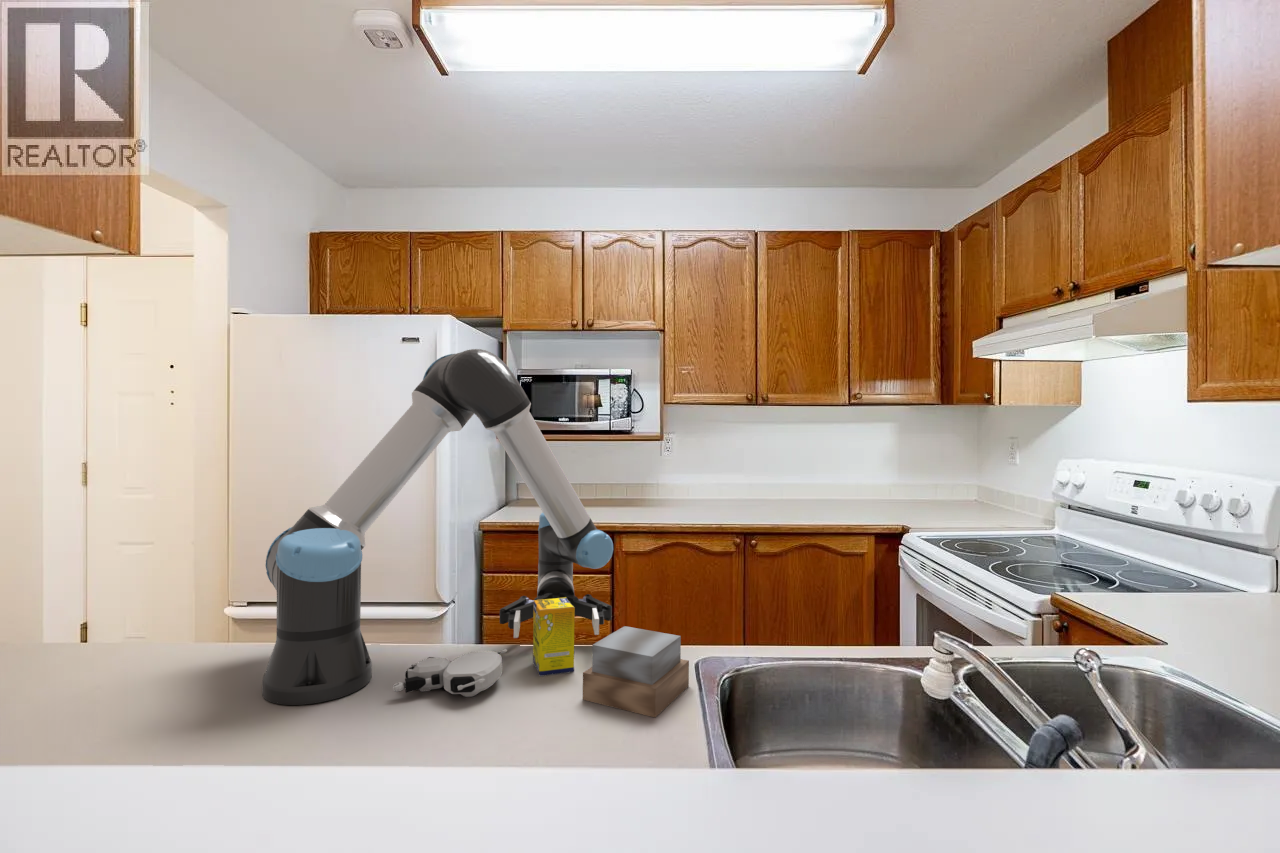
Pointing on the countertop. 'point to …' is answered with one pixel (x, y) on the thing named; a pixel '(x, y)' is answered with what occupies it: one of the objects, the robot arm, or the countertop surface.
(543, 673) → the supplement box
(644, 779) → the countertop surface
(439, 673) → the robot toy
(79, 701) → the countertop surface
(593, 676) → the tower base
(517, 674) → the countertop surface
